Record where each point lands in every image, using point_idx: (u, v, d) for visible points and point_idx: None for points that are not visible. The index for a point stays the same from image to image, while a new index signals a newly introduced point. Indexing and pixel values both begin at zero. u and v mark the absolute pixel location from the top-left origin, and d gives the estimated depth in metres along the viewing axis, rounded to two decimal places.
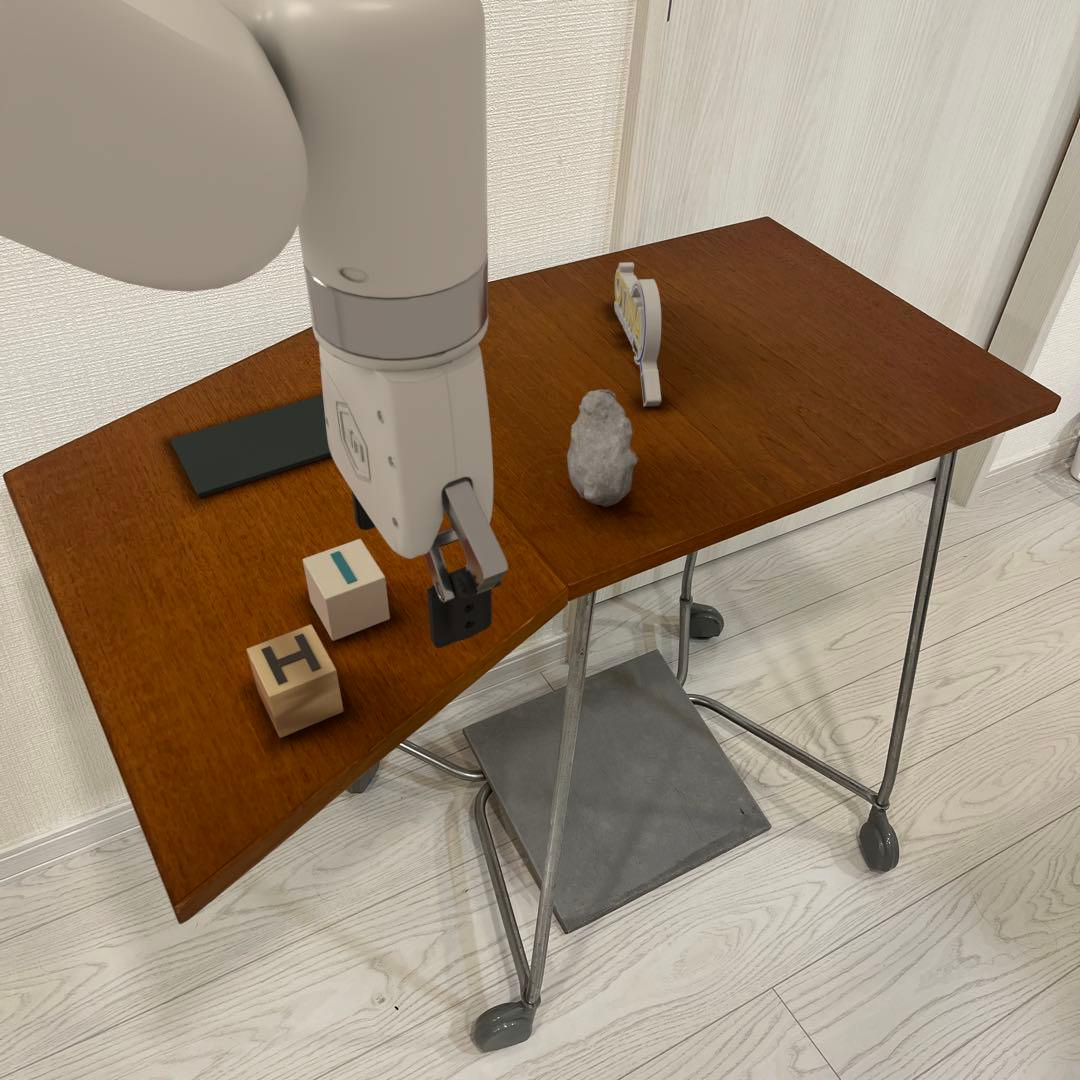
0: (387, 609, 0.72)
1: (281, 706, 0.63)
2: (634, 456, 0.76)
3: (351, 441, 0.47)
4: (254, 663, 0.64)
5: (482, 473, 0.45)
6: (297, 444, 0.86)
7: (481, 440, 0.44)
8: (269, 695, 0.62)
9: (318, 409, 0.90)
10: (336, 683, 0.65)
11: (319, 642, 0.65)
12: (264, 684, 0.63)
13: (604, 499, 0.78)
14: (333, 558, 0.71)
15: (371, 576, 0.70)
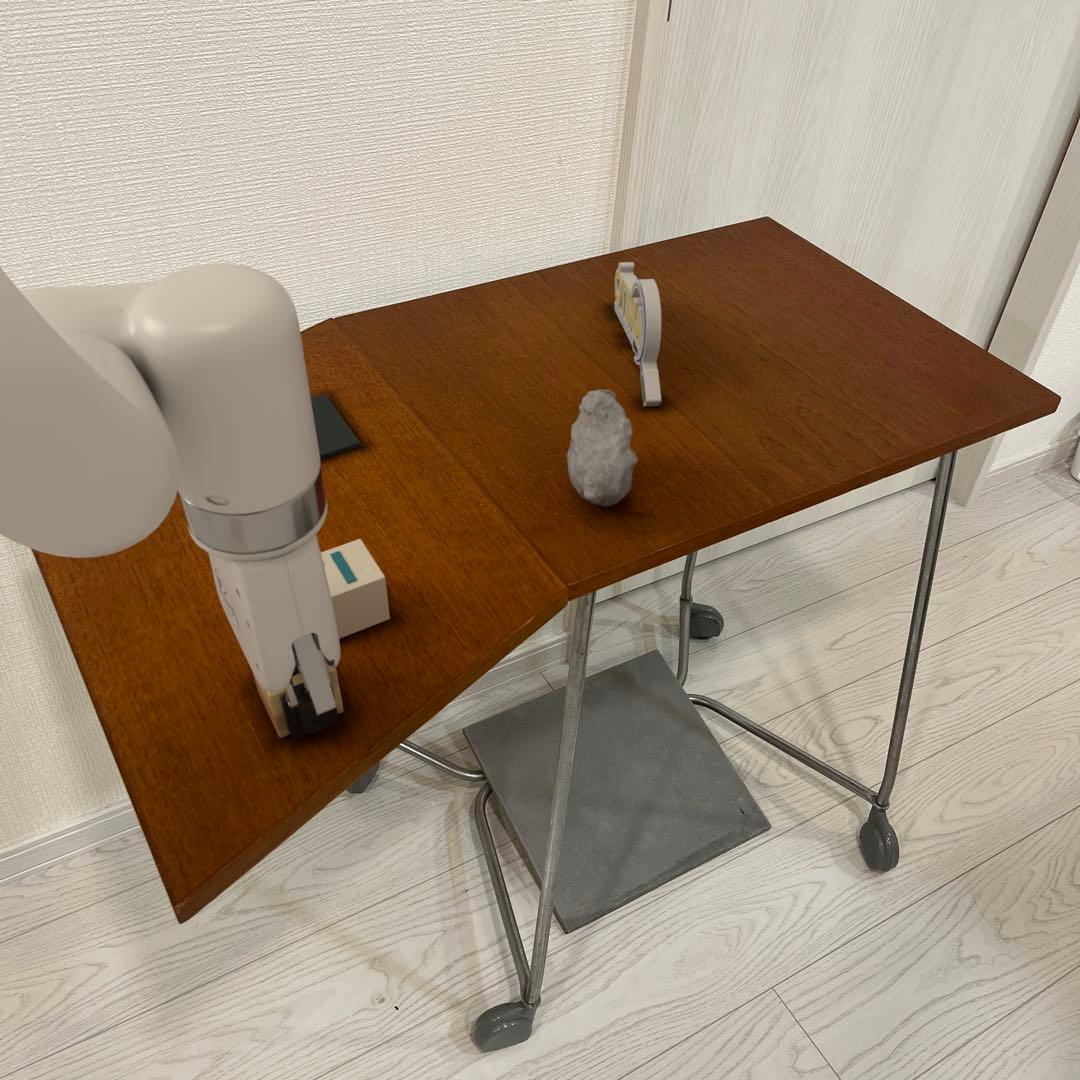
0: (387, 609, 0.72)
1: (281, 706, 0.63)
2: (634, 456, 0.76)
3: (226, 599, 0.58)
4: None
5: (325, 628, 0.57)
6: None
7: (322, 605, 0.56)
8: (269, 695, 0.62)
9: (318, 409, 0.90)
10: (336, 683, 0.65)
11: None
12: None
13: (604, 499, 0.78)
14: (333, 558, 0.71)
15: (371, 576, 0.70)
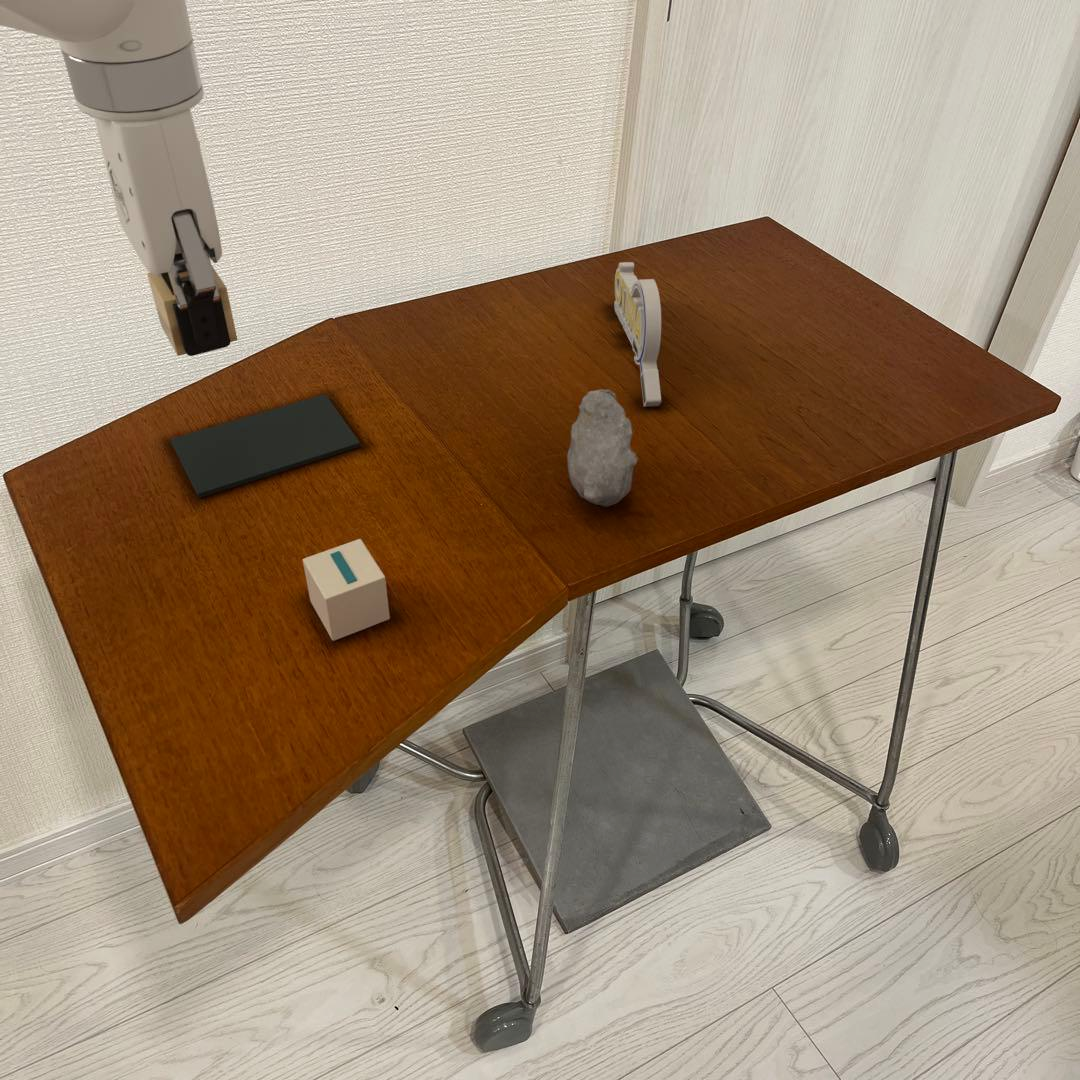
0: (387, 609, 0.72)
1: None
2: (634, 456, 0.76)
3: (117, 192, 0.65)
4: (153, 282, 0.71)
5: (203, 208, 0.64)
6: (297, 444, 0.86)
7: (197, 181, 0.63)
8: (163, 301, 0.69)
9: (318, 409, 0.90)
10: (227, 303, 0.72)
11: (213, 270, 0.72)
12: (160, 294, 0.70)
13: (604, 499, 0.78)
14: (333, 558, 0.71)
15: (371, 576, 0.70)
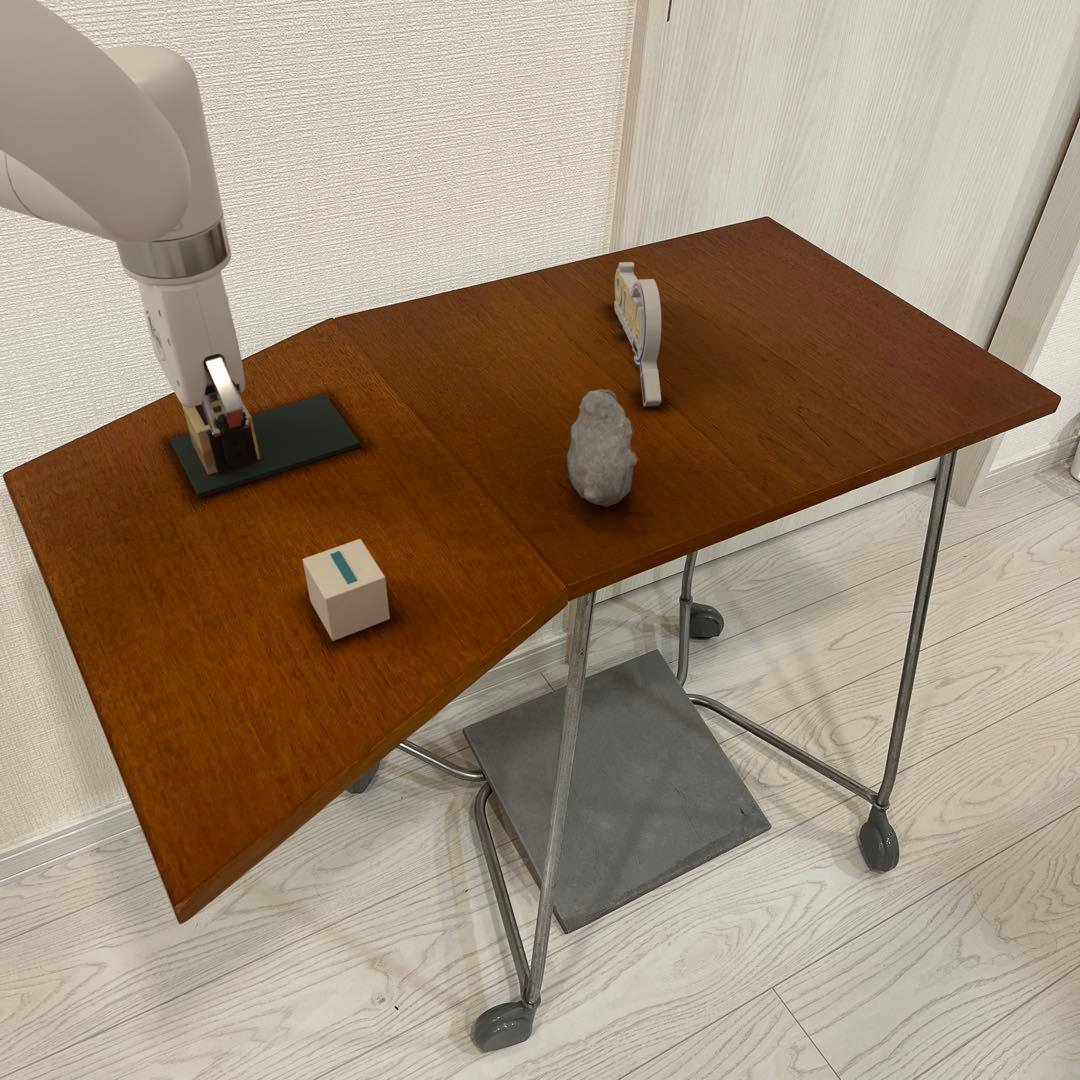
0: (387, 609, 0.72)
1: (208, 443, 0.81)
2: (634, 456, 0.76)
3: (155, 335, 0.75)
4: (187, 412, 0.82)
5: (230, 352, 0.74)
6: (297, 444, 0.86)
7: (226, 331, 0.73)
8: (197, 431, 0.80)
9: (318, 409, 0.90)
10: (252, 430, 0.82)
11: None
12: (194, 425, 0.80)
13: (604, 499, 0.78)
14: (333, 558, 0.71)
15: (371, 576, 0.70)
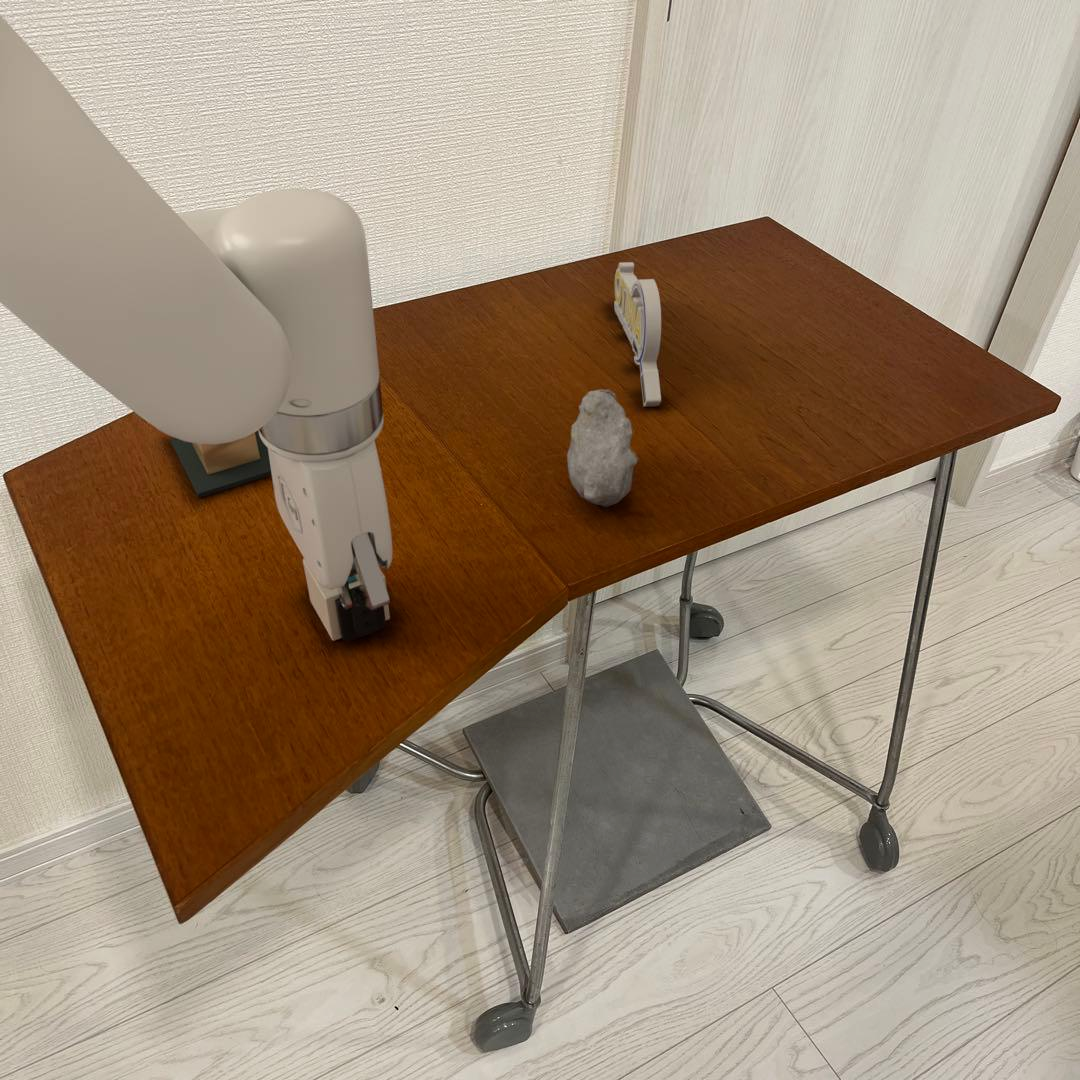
0: (387, 609, 0.72)
1: None
2: (634, 456, 0.76)
3: (289, 504, 0.64)
4: None
5: (381, 529, 0.63)
6: None
7: (378, 506, 0.62)
8: None
9: None
10: None
11: None
12: None
13: (604, 499, 0.78)
14: None
15: None
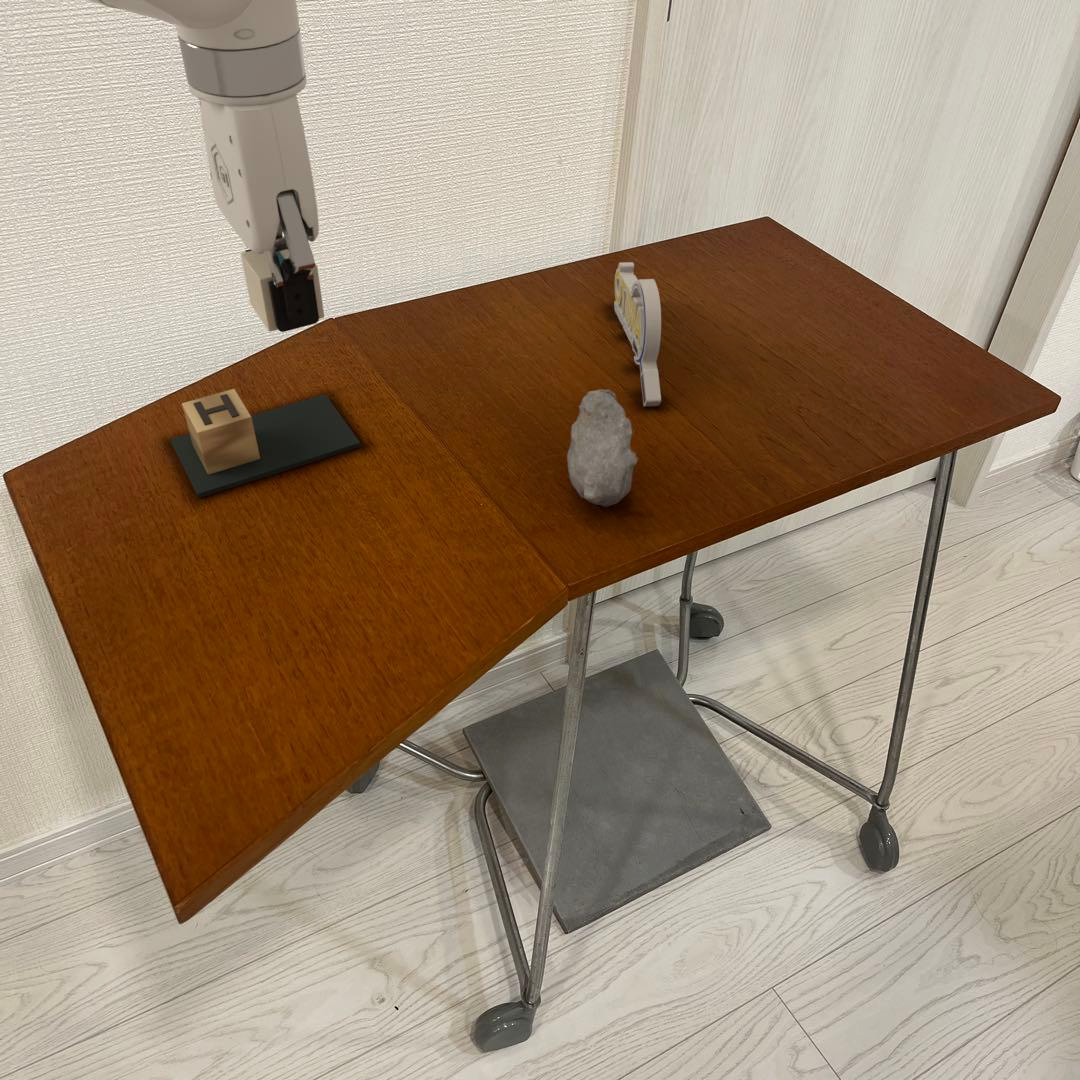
0: (321, 305, 0.77)
1: (208, 443, 0.81)
2: (634, 456, 0.76)
3: (221, 174, 0.69)
4: (187, 412, 0.82)
5: (305, 189, 0.67)
6: (297, 444, 0.86)
7: (301, 163, 0.66)
8: (197, 431, 0.80)
9: (318, 409, 0.90)
10: (252, 430, 0.82)
11: (239, 399, 0.83)
12: (194, 425, 0.80)
13: (604, 499, 0.78)
14: None
15: None
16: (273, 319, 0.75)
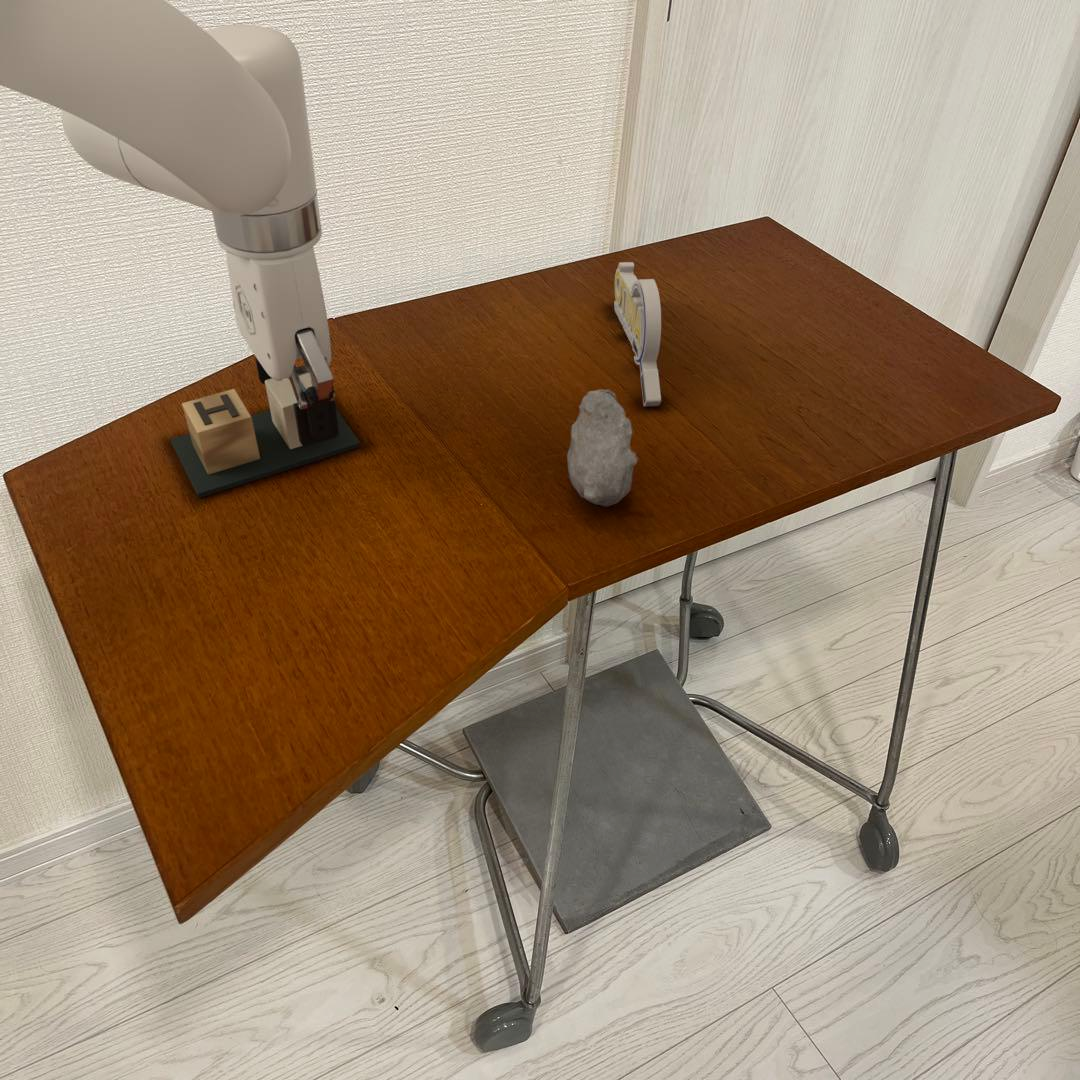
0: None
1: (208, 443, 0.81)
2: (634, 456, 0.76)
3: (244, 310, 0.77)
4: (187, 412, 0.82)
5: (320, 326, 0.76)
6: None
7: (317, 304, 0.75)
8: (197, 431, 0.80)
9: None
10: (252, 430, 0.82)
11: (239, 399, 0.83)
12: (194, 425, 0.80)
13: (604, 499, 0.78)
14: None
15: None
16: (293, 439, 0.85)
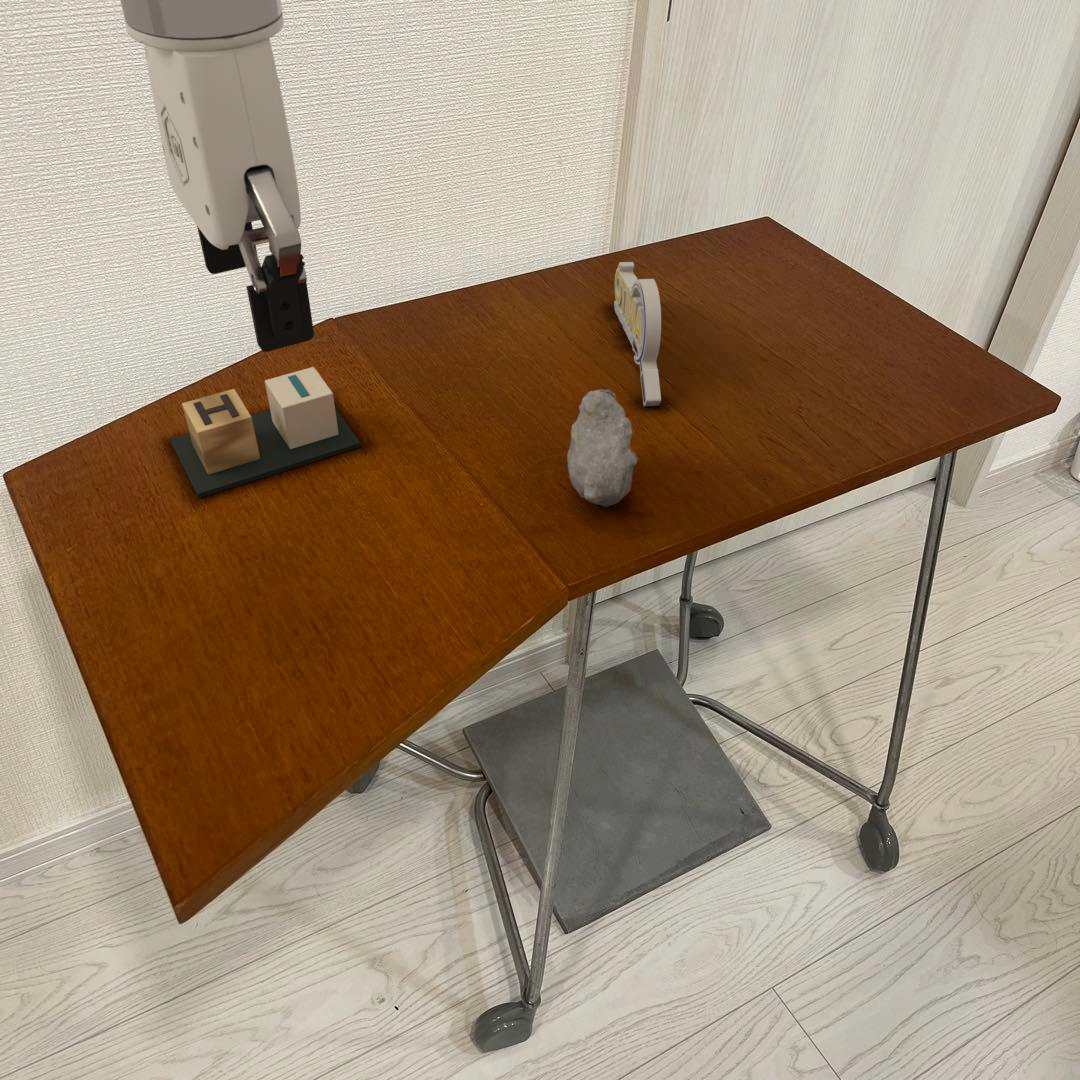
0: (336, 425, 0.86)
1: (208, 443, 0.81)
2: (634, 456, 0.76)
3: (173, 147, 0.53)
4: (187, 412, 0.82)
5: (282, 165, 0.51)
6: None
7: (277, 129, 0.50)
8: (197, 431, 0.80)
9: None
10: (252, 430, 0.82)
11: (239, 399, 0.83)
12: (194, 425, 0.80)
13: (604, 499, 0.78)
14: (290, 380, 0.85)
15: (321, 392, 0.84)
16: (293, 439, 0.85)
